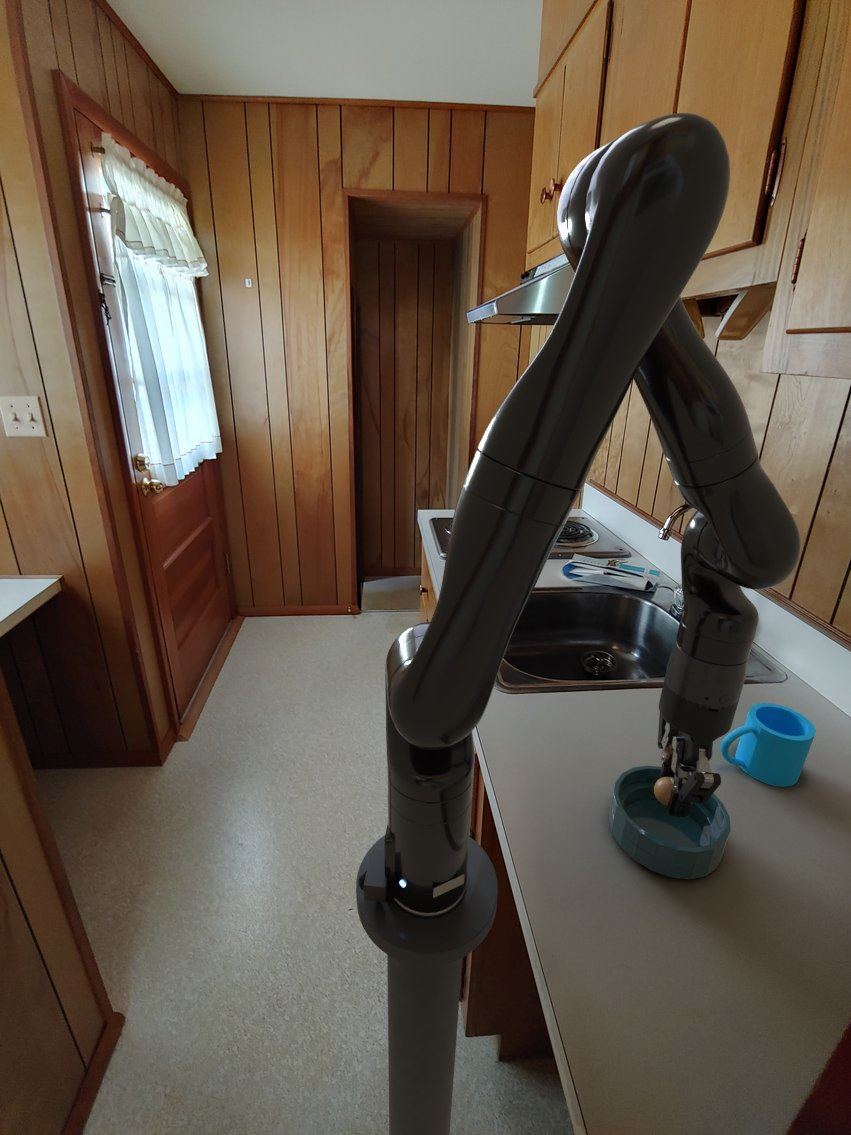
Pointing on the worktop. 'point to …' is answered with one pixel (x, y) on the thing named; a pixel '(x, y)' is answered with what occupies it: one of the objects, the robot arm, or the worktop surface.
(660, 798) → the bread
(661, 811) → the bowl
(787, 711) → the mug
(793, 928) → the worktop surface
